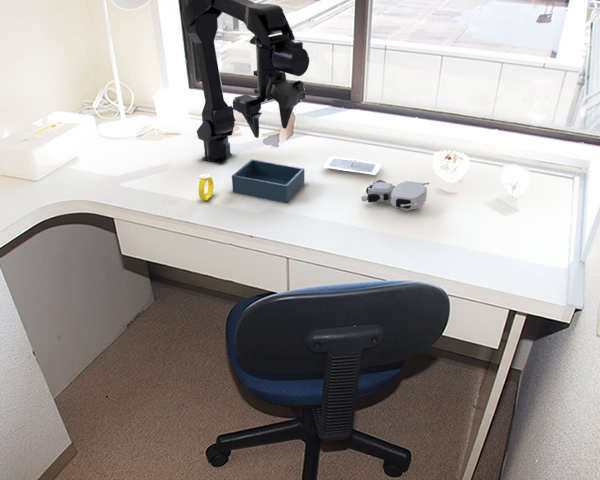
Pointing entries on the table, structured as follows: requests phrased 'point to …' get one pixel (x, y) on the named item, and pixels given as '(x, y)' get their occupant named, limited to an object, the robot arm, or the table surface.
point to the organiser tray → (268, 180)
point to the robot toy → (397, 194)
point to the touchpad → (352, 165)
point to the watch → (202, 183)
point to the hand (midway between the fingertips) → (270, 132)
